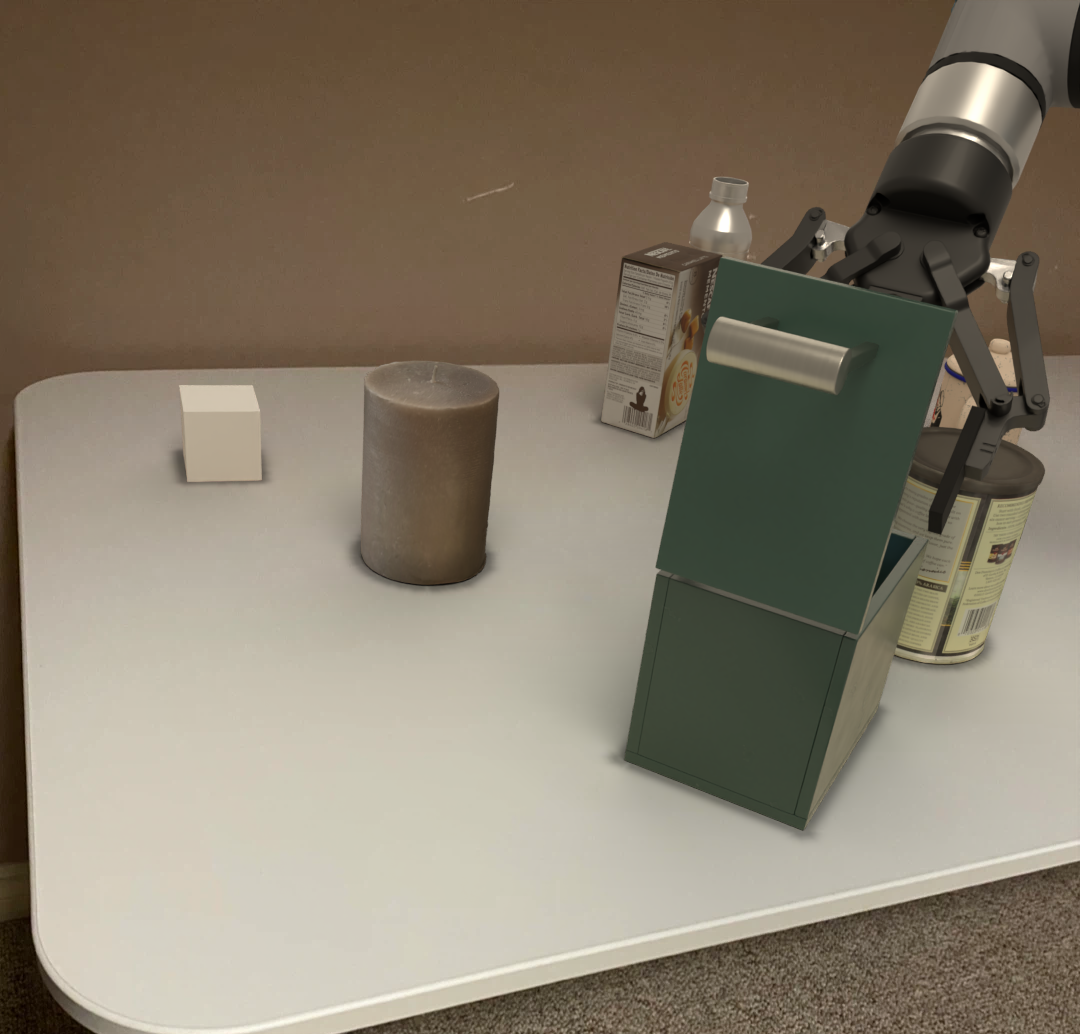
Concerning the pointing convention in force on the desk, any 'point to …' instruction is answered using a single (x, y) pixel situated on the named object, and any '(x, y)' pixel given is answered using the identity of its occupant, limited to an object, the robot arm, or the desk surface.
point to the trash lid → (800, 439)
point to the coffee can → (962, 547)
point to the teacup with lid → (958, 397)
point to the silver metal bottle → (724, 221)
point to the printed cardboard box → (657, 336)
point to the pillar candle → (427, 470)
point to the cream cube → (220, 433)
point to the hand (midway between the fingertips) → (815, 489)
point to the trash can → (763, 689)
